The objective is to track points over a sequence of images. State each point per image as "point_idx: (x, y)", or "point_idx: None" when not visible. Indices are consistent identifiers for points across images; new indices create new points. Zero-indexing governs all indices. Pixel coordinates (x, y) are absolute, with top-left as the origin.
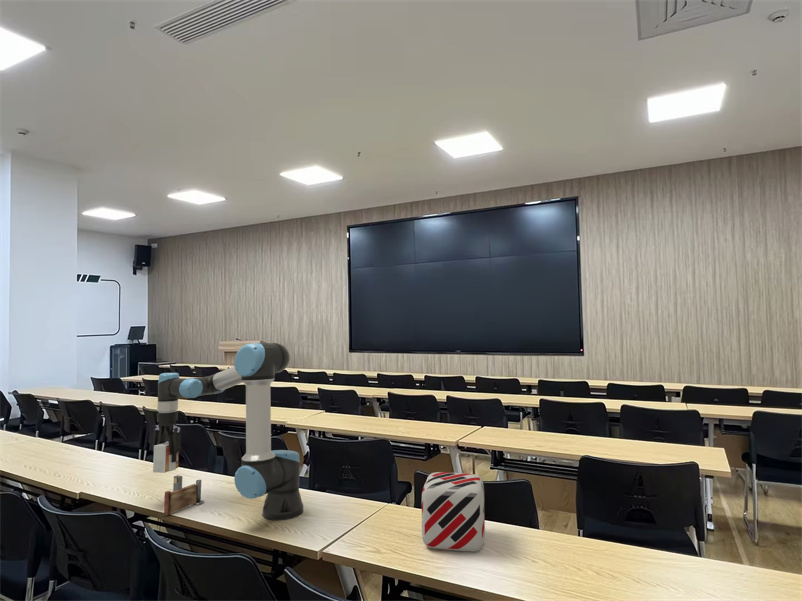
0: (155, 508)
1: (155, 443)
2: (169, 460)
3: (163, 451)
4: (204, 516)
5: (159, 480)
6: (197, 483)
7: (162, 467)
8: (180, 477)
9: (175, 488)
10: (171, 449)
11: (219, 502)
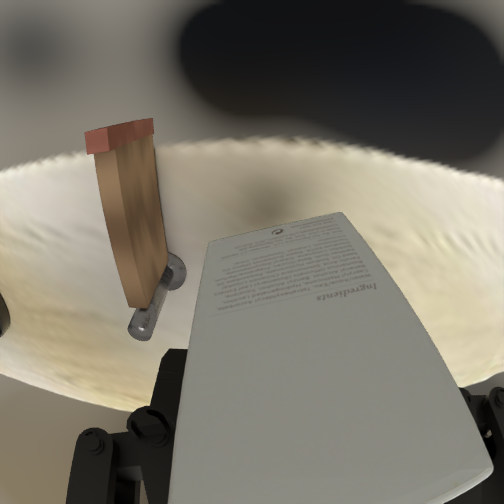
0: (271, 157)
1: (501, 462)
2: None
3: (219, 440)
4: (43, 197)
5: (455, 339)
6: (135, 315)
7: (234, 259)
8: None
9: None
10: (156, 480)
11: (116, 301)
